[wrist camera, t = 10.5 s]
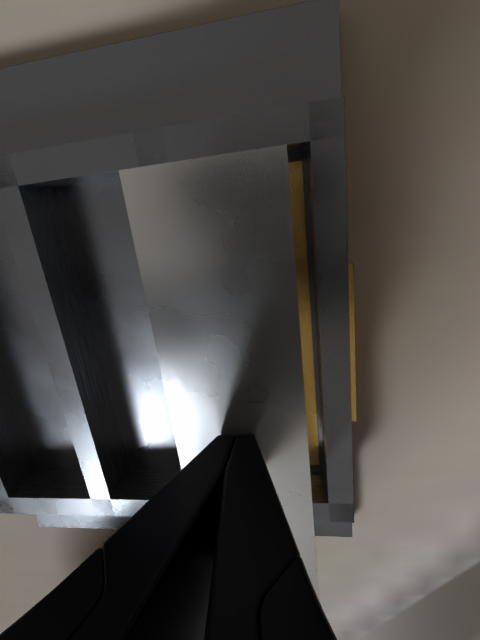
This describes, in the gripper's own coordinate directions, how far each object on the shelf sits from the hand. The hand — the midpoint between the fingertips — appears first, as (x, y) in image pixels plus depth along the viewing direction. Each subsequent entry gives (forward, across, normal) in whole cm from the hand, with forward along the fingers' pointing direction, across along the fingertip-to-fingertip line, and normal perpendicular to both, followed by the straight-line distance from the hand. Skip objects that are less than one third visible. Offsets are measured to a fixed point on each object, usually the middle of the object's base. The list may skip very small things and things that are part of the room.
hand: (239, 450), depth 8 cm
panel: (+7, 0, 0) cm, 7 cm away
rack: (+8, +5, 0) cm, 10 cm away
